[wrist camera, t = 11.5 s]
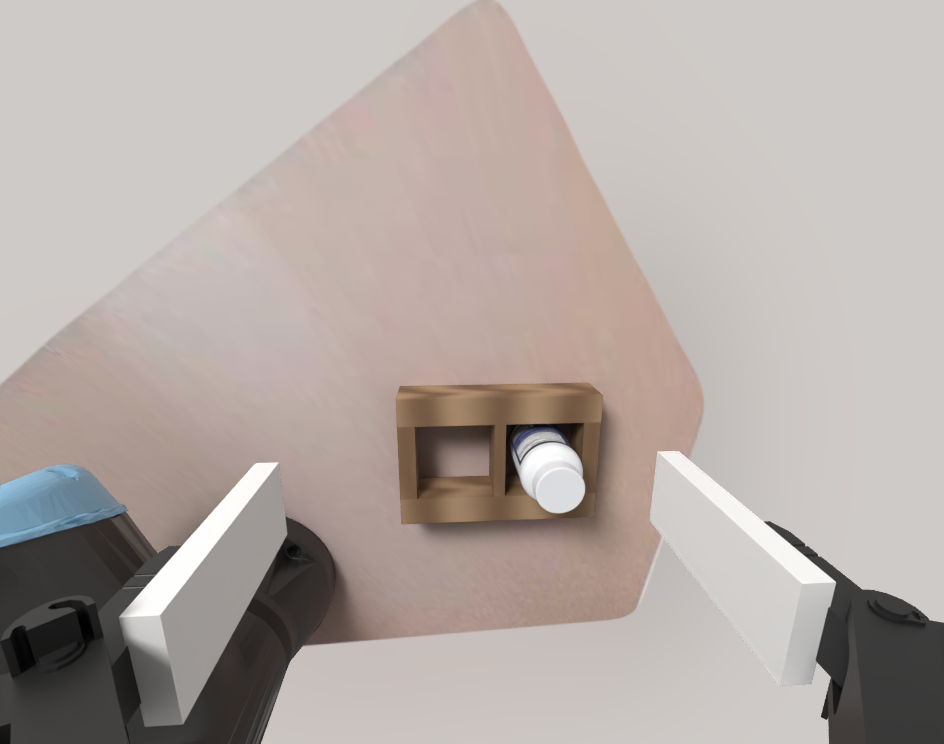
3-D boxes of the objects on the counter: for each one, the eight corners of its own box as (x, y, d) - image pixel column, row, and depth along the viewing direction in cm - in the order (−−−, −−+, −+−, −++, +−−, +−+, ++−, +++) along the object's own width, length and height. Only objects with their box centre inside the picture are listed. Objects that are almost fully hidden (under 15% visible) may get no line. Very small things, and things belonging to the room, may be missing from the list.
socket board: (404, 501, 45) (401, 524, 41) (400, 386, 42) (395, 399, 38) (580, 494, 46) (593, 516, 42) (588, 382, 43) (603, 395, 39)
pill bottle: (560, 465, 45) (592, 521, 36) (507, 467, 45) (525, 523, 36) (563, 415, 44) (596, 459, 35) (508, 416, 44) (527, 461, 34)
